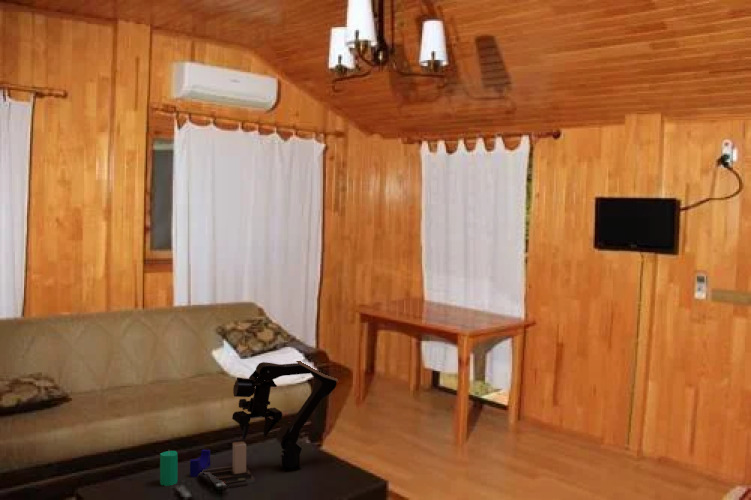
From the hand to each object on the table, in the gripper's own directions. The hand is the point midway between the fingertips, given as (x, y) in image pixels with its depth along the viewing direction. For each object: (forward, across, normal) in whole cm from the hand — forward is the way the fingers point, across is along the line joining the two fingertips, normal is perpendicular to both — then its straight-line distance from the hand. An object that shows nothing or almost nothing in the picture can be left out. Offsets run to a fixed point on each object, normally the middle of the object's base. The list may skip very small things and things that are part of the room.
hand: (254, 437), depth 249 cm
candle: (+17, +27, -8) cm, 33 cm away
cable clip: (+16, +14, -12) cm, 24 cm away
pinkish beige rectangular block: (+11, +7, +4) cm, 14 cm away
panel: (+13, +9, +3) cm, 16 cm away
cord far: (+14, +6, -5) cm, 16 cm away
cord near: (+12, +11, +10) cm, 19 cm away
